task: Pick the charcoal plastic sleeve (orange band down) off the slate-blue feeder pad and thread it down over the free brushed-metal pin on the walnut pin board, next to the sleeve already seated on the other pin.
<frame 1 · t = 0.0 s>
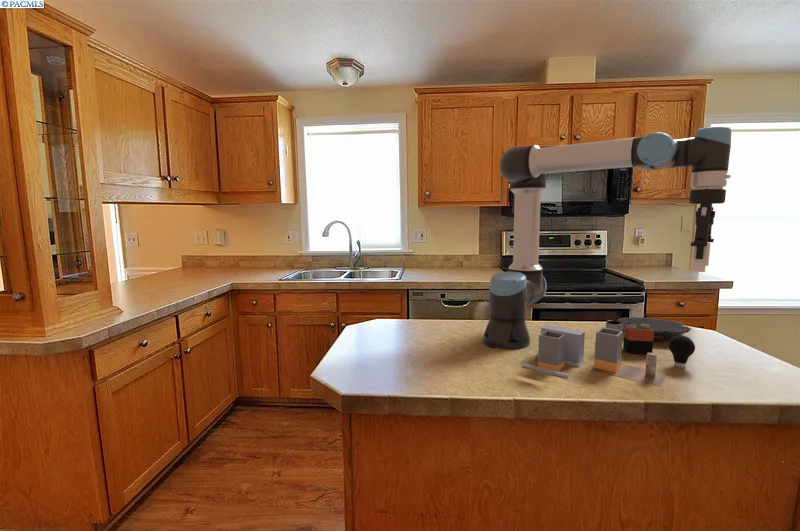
hand: (700, 268, 106), 28 cm above the countertop, fingers open, 13 cm apart
seated sleeve: (607, 366, 107), point 1 cm above the countertop, touching pinboard
planter: (612, 355, 120), on the countertop
board: (651, 336, 138), on the countertop
battery: (636, 357, 118), on the countertop
sleeve: (551, 369, 108), point 1 cm above the countertop, touching feeder
light bulb: (679, 371, 107), on the countertop
pinboard: (627, 377, 104), on the countertop
feeder: (551, 371, 108), on the countertop
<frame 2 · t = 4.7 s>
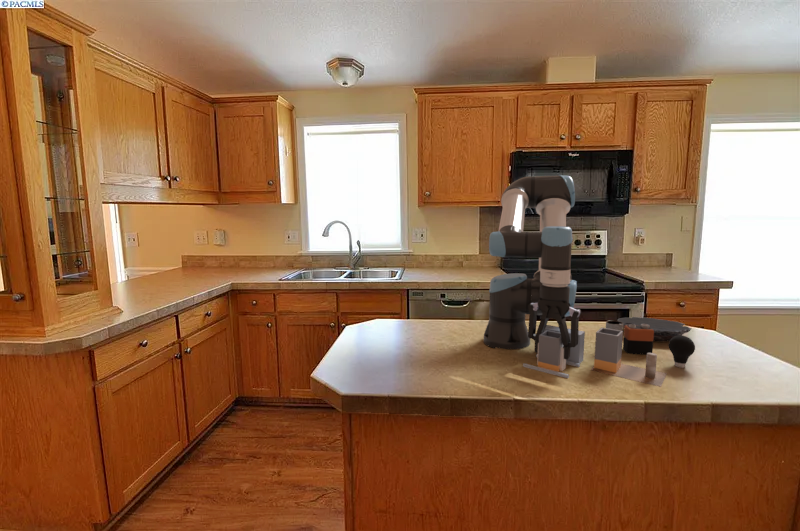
hand: (551, 366, 108), 1 cm above the countertop, fingers closed on sleeve, 5 cm apart
sleeve: (551, 369, 108), point 1 cm above the countertop, touching feeder, gripper
everything else where it was.
when the fingers open (4 cm above the countertop, at t = 10.7 s): sleeve drops 2 cm, resting on pinboard.
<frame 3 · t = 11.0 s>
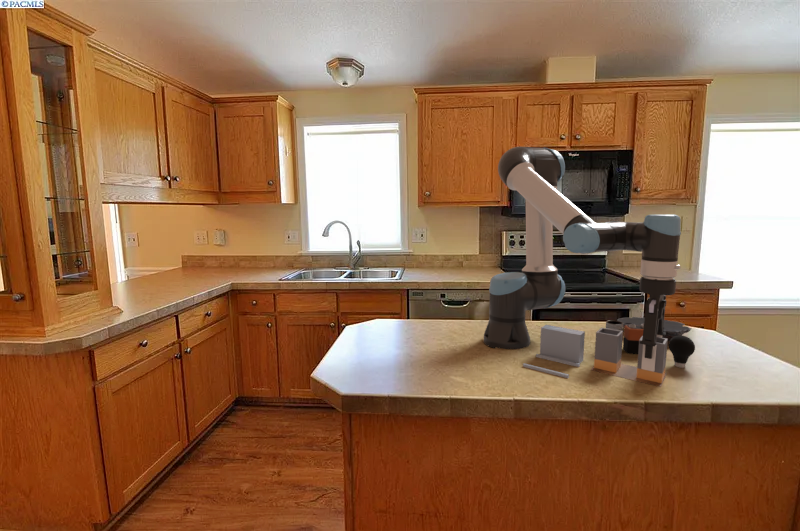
hand: (651, 363, 100), 5 cm above the countertop, fingers open, 9 cm apart
sleeve: (650, 376, 101), point 1 cm above the countertop, touching pinboard
everything else where it was.
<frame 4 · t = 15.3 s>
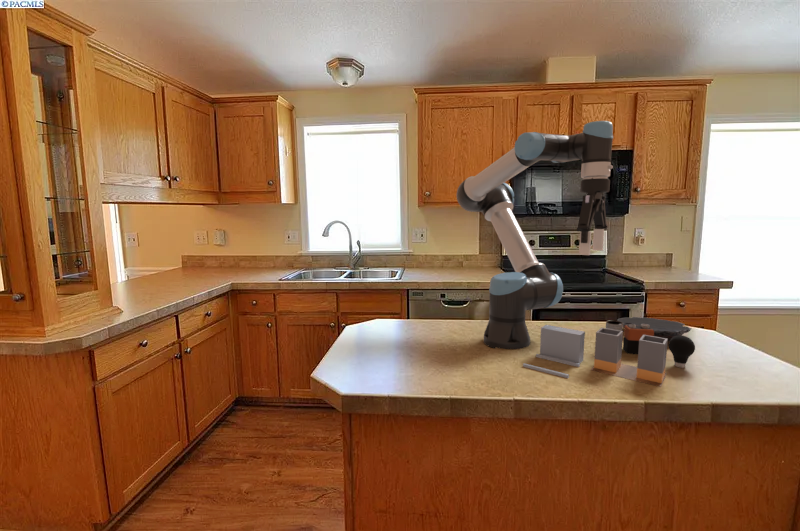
hand: (591, 252, 115), 32 cm above the countertop, fingers open, 13 cm apart
nothing on the countertop moved.
at the end: sleeve 0.1 cm from the target spot on the pinboard, point 1.5 cm above the pinboard's base; sleeve tilted 0°; the gripper is holding nothing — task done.
